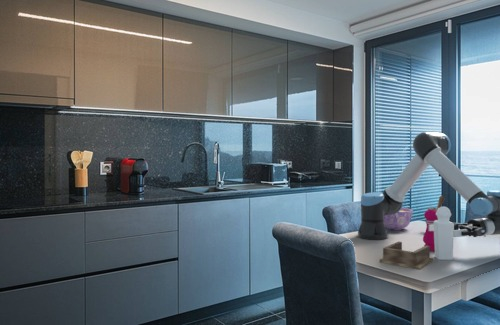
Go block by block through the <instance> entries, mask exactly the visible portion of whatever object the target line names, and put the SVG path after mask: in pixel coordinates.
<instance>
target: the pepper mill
mask: <svg viewBox="0 0 500 325" xmlns="http://www.w3.org/2000/svg"><path fill="white" fill-rule="evenodd" d="M428 208H429V209H430V210H428V209H427V210H426V211H425V212H424V215H423V216H424V218H425V224H426V229H425V232H424V234H423V237H422V241H423V243H424V245H423V246H425V245H427V246H429V252H430V251H431V252H435V245H434V231H429V225H431V224H434V221H435V220H437V219H438V217H437V215H436V212H437V211H435V210H433V209H434V208H435V207H433V206H429V207H428Z"/></svg>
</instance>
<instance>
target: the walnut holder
mask: <svg viewBox="0 0 500 325" xmlns="http://www.w3.org/2000/svg"><path fill="white" fill-rule="evenodd" d="M424 245H425V244H424ZM424 245H423V246H422V247H420V248H417V249H416V250H413V251H409V250H404V249H403V242H402V241H396V242H395V243H392V244H390V245H387V246H385V247H383V248H382V258H380V259H379V263H382V264H389V265H394V266H398V267H400V266H401V267H403V268H404V267H405V268H410V269H416V270H421V269H422V268H424V267H426V266H427V265H429V264H430V263H432V262H434V257H430V251H429V246H427V245H425V246H424Z"/></svg>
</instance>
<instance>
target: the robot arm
mask: <svg viewBox="0 0 500 325" xmlns="http://www.w3.org/2000/svg"><path fill="white" fill-rule="evenodd" d="M412 148H413V150H414V152H415V155H414V156H412V158H411V160H410V161H409V162H408V164H407V165H406V166H405V168H404V169H403V170H402V171H401V173H400V174H399V175H398V176H397V177H396V179H395V180H394V181H393V183H392V184H391V185H390V186H389V187H388V186H387V187H385V189H384V190H383V191H382V192H378V191H376V192H375V191H373V192H367V193H363V194H362V195H361V199H360V219H361V220H360V225H359V228H358V231H357V237H358V238H361V239H364V240H365V239H366V240H375V241H376V240H386V239H388V232H387V227H385V225H384V216H385V215H392V214H395V213H397V212H399V211H400V210H401V209H402V208H403V207H404V204H403V203H404V202H405V196H406V195H407V193H408V192H409V191H410V190H411V189H412V187H413V186H414V185H415V184H416V183H417V181H418V180H419V179H420V178H421V177H422V175H423V173H425V171H426V170H427V169H428V167H429V166H431V167H432V168H433V169H434V170H435V171H436V172H437V173H438V174H439V175H440V176H441V177H442V178H443V179H444V181H446V182H447V183H448V184H449V185H450V186H451V187H452V188H453V189H454V190H455V191H456V193H458V194H459V195H460V196H461V198H463V199H464V200H465V201H466V202H467V203H468V205H469V207H470V208H469V209H470V211H471V212H472V213H473V214H474V215H475V216H483V217H482V218H471V219H469V220H468V221H467V222H463V223H460V222H452V223H453V224H454V230H453V237H454V238H461V237H474V238H477V237H482V236H483V238H484V237H485V238H486V237H487V236H493V235H495V236H496V235H500V190H488V191H486V193H485V192H484V191H483V190H482V189H481V188H480V187H479V186H478V185H476V184H475V183H474V181H472V180H471V179H470V178H469V177H468V176H467V175H466V174H465V173H464V172H463V171H462V170H461V169H460V168H459V167H458V166H457V165H455V164H454V162H453V161H452V160H450V158H448V157H447V156H446V155H447V154H448V153H449V152H450V151H451V148H452V144H451V140H450V137H449V136H448V135H446V134H445V133H442V132H432V131H431V132H430V131H424V132H420V133H418V134H417V135H416V136H415V138H413V141H412ZM484 216H486V217H484ZM429 231H434V224H431V225H429Z"/></svg>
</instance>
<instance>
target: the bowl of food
mask: <svg viewBox="0 0 500 325" xmlns="http://www.w3.org/2000/svg"><path fill="white" fill-rule="evenodd" d="M413 211H414V210H413V209H411V208H407V207H402V209H401V210H400V211H399V212H397V213H395V214H392V215H385V216H384V225H385V228H386V229H388V230H390V229H394V230H393V231H400V230H401V229H402V230H403V229H405V228H407V227H408V226H409V225H410V223H411V219H412V216H413Z"/></svg>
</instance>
